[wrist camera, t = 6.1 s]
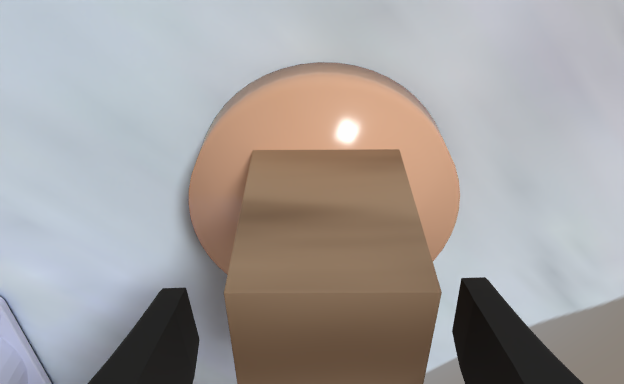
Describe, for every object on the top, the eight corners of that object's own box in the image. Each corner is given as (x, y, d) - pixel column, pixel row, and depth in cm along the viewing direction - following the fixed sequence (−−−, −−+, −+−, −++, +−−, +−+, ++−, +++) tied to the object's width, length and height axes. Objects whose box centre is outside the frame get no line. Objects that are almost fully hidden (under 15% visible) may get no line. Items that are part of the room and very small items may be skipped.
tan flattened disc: (433, 267, 21) (444, 303, 19) (219, 274, 21) (211, 310, 19) (461, 56, 16) (478, 80, 14) (177, 68, 16) (161, 93, 14)
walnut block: (387, 258, 18) (416, 416, 13) (262, 259, 18) (242, 416, 13) (399, 149, 15) (441, 292, 10) (252, 150, 15) (224, 293, 10)
